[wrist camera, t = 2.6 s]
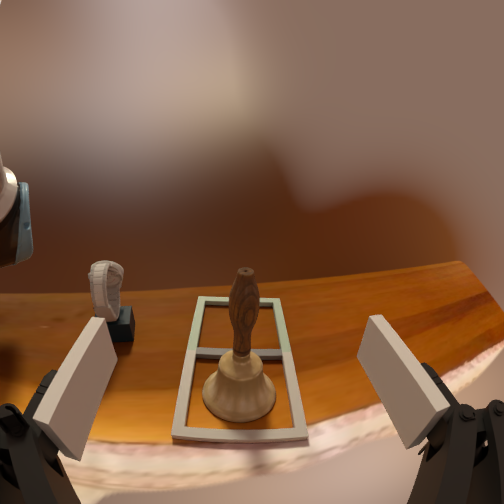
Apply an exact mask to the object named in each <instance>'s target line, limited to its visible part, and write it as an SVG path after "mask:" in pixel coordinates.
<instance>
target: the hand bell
mask: <svg viewBox="0 0 504 504" xmlns="http://www.w3.org/2000/svg"><path fill="white" fill-rule="evenodd" d="M259 305H260V296H259V291H258V287H257V283H256V280H255V276H254V271H253V270H252V269H250V268H246V267H245V268H240V269H239V270H238V272H237V276H236V279H235V281H234V284H233V286H232V288H231V291H230V295H229V315H230V320H231V323H232V326H233V329H234V342H233V350H230V351H228V352H226V353H225V354H224V355H223V356H222V357H221V358H220V361H219V365H218V371H216V372H214V373H213V374H212V375H211V376H210V377H209V378H208V379H207V380H206V382H205V384H204V386H203V391H202V395H203V400H204V403H205V405H206V406H207V408H208V409H209V410H210V411H211V412H212V413H213V414H215V415H216V416H218V417H220V418H222V419H224V420H227V421H231V422H249V421H254V420H256V419H259V418H261V417H262V416H264V415H265V414H267V413H268V412H269V411H270V410H271V409H272V407H273V405H274V403H275V399H276V391H275V387H274V385H273V383H272V382H271V380H270V379H269V378H268V377H267V376H266V375H265V374H264V373H263V364H262V361H261V359H260V358H259V356H258V355H257V354H255V353H254V352H252V351H251V332H252V329H253V327H254V325H255V323H256V320H257V317H258V313H259Z"/></svg>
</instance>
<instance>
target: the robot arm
mask: <svg viewBox="0 0 504 504" xmlns="http://www.w3.org/2000/svg"><path fill="white" fill-rule="evenodd" d="M0 3H1V0H0ZM32 253H33V242H32V233H31V222H30V208H29V188H28V184H27V183H22V182H18V183H17V181H16V178H15V176H14V174H13V173H12V171H11V170H9V169H8V168H6V167H3V164H2V159H1V154H0V268H2V267H6V266H9V265H16V264H17V263H18V262H21V261H24V260H26V259H28V258H29V257H31V255H32ZM357 358H358V359H359V361H360V363H361V365H362V366H363V368H364V370H365V372H366V374H367V376H368V377H369V379H370V381H371V383H372V385H373V387H374V388H375V390H376V392H377V394H378V396H379V398H380V400H381V401H382V403H383V405H384V407H385V409H386V411H387V413H388V415H389V417H390V419H391V420H392V422H393V424H394V426H395V428H396V430H397V432H398V434H399V436H400V438H401V440H402V442H403V444H404V446H405V448H406V449H409V448H412V447H414V446H416V445H419V444H420V443H421V442H422V441H423V440H424V439H425V437H427V439H428V442H427V444H426V445H425V446H424V447H423V448H422V449H421V450H420V451H419V453H418V455H420V454H421V453H422V452H423V451H424V454H423V458H422V461H421V465H420V468H419V471H418V475H417V478H416V481H415V484H414V486H413V489H412V492H411V495H410V498H409V500H408V502H407V504H504V403H503V402H502V401H500V400H493V401H491V402H490V403H489V405H488V406H487V407H486V408H484V409H477V410H475V409H474V408H473V407H471V406H469V405H467V404H461V405H460V404H459V403H458V402H457V400H456V399H455V397H454V396H453V395H452V393H451V392H450V390H449V389H448V388H447V386H446V385H445V384H444V383H443V381H442V380H441V378H440V377H438V374H437V373H436V372H435V371H434V369H433V368H432V367H430V366H429V365H427V364H426V363H425V362H424V363H421V364H420V363H419V362H418V360H417V359H416V358H415V356H414V355H413V354H412V352H411V351H410V350H409V349H408V347H407V346H406V345H405V343H404V342H403V341H402V340H401V338H400V337H399V336H398V335H397V333H396V332H395V331H394V330H393V328H392V327H391V326H390V325H389V323H388V322H387V321H386V320H385V318H384V317H383V316H382V315H375V316H369V319H368V322H367V326H366V329H365V332H364V336H363V339H362V342H361V345H360V348H359V351H358V354H357ZM117 360H118V359H117V356H116V353H115V350H114V347H113V344H112V341H111V337H110V334H109V330H108V327H107V323H106V320H105V318H98V317H92V318H91V319H90V321H89V322H88V324H87V325H86V327H85V328H84V330H83V331H82V333H81V334H80V336H79V338H78V339H77V341H76V342H75V344H74V345H73V347H72V349H71V350H70V352H69V353H68V355H67V357H66V358H65V360H64V362H63V363H62V365H61V367H60V368H59V370H58V371H56V370H51V371H50V372H49V373H48V374H46V375H45V376H44V378H43V379H42V381H41V383H40V386H38V388H37V390H36V393H34V395H33V397H32V399H31V400H30V402H29V404H28V406H27V408H26V410H25V412H24V414H23V415H22V413H21V412H20V411H19V409H18V408H17V407H16V406H15V405H13V404H10V403H7V404H3V405H1V406H0V504H81V502H80V500H79V498H78V496H77V495H76V493H75V491H74V489H73V487H72V485H71V483H70V481H69V478H68V476H67V474H66V472H65V470H64V467H63V465H62V463H61V460H60V458H59V457H58V455H57V454H58V451H59V450H60V451H61V452H62V453H63V454H64V455H65V456H66V457H69V458H72V459H75V460H78V461H81V457H82V454H83V451H84V448H85V445H86V442H87V439H88V436H89V433H90V430H91V427H92V424H93V421H94V418H95V416H96V413H97V410H98V408H99V405H100V402H101V400H102V397H103V394H104V392H105V389H106V387H107V384H108V382H109V379H110V377H111V374H112V372H113V369H114V367H115V365H116V362H117ZM486 440H487V441H488V445H487V446H485V443H484V442H485V441H486Z"/></svg>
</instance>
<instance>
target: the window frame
mask: <svg viewBox="0 0 504 504" xmlns="http://www.w3.org/2000/svg"><path fill="white" fill-rule="evenodd" d="M205 305H229V297H204V296H199V297H198V301H197V306H196V310H195V314H194V319H193V323H192V328H191V333H190V337H189V342H188V347H187V352H186V356H185V361H184V366H183V371H182V376H181V382H180V387H179V392H178V397H177V403H176V408H175V414H174V420H173V426H172V432H171V436H172V438H175V439H184V440H194V441H207V442H227V443H264V442H284V441H297V440H307V438H308V431H307V426H306V421H305V416H304V411H303V406H302V401H301V396H300V391H299V386H298V382H297V377H296V372H295V367H294V363H293V358H292V353H291V348H290V344H289V339H288V334H287V330H286V325H285V321H284V316H283V312H282V307H281V303H280V298H260V305H259V306H273V311H274V316H275V322H276V328H277V334H278V340H279V345H280V349H251V351H252V352H254V353H255V354H257V355H258V356H259V358H260V359H261V360H282V363H283V369H284V375H285V381H286V387H287V393H288V399H289V405H290V411H291V417H292V423H293V428H286V429H265V430H229V429H207V428H194V427H186V421H187V414H188V407H189V400H190V393H191V387H192V380H193V374H194V367H195V361H196V358H206V359H220V358H221V357H222V356H223V355H224V354H225V353H226V352H228V351H230V350H233V349H221V348H200V347H198V343H199V337H200V331H201V326H202V320H203V314H204V309H205Z"/></svg>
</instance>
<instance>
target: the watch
mask: <svg viewBox="0 0 504 504" xmlns="http://www.w3.org/2000/svg"><path fill="white" fill-rule="evenodd" d="M123 273H124V271H123V268H122V267H121V266H120V265H119V264H117V263H115V262H112V261H99V262H96V263H95V264H93V265H91V273H88V278H89V279H90V288H91V296H92V301H93V305H94V311H95V313H96V314H95V317H98V318H105V320H106V323H107V327H108V330H109V334H110V337H111V341H112V342H128V341H134V331H135V320H134V315H133V311H132V306H121V307H120V292H118V291H119V288H121V284H122V280H123ZM103 289H104V290H103ZM98 292H100V293H98ZM112 300H113V301H112Z"/></svg>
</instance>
